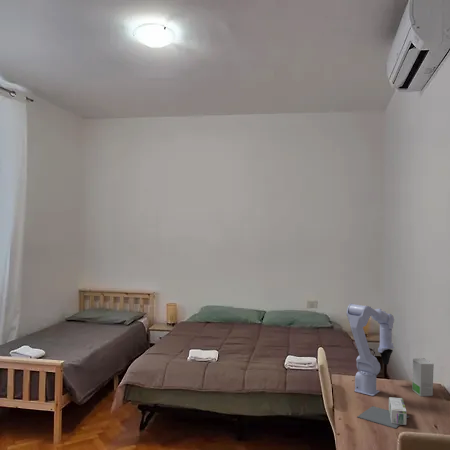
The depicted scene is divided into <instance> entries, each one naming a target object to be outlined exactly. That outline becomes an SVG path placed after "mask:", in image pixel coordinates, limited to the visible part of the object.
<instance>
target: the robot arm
mask: <svg viewBox="0 0 450 450" xmlns="http://www.w3.org/2000/svg"><path fill="white" fill-rule="evenodd" d="M345 314H346V316H347V320H348V322H349V325H350V329H351V333H352V336H353V337H352V338H353V339H354V342H355V346H356V348H357V349H356V350H357V351H358V354H359V355H358V356H357V357H356V359H355V360H356V368H357V370H358V371H357V372H356V373H355V376H354V378H355V379H354V392H356V393H359V394H364V395H367V396H371V397H374V396H376V395H377V394H378V393H380V392H381V391H380V390H378V389H377V376H378V375H379V373H380V372H381V364H380V362H379V360H378V359H377V357H376V356H374V355H373V354H372V353H371V350H370V345H369V343H368V339H367V336H366V333H365V330H364V327H366V326H367V324H368V322H369V320H370V318H371V319H372V320H373V321H376V322H377V324H379V346H378V347H377V353H379V355H380V358H381V360H382V364H384V365H389V363H390V359H391V356H392V353H393V352H394V351H393V349H395V346H394V343H393V342H392V341H393V339H392V337H393V333H392V332H393V330H392V329H393V328H394V323H395V318H394V315H392V314H391V313H387V312H386V311H385V310H382V309H381V308H380V307H379V308H375V309H374V308H373V307H372V306H369V305H363V304H362V305H361V304H356V303H355V304H354V303H349V304H348V306H347V309H346V312H345Z"/></svg>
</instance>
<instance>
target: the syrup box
mask: <svg viewBox="0 0 450 450" xmlns="http://www.w3.org/2000/svg"><path fill="white" fill-rule="evenodd" d="M388 410H389V414H390V418H391V423H393V424H401V425H403V426H407V419H406V415H407V409H406V405H405V401H404V398H402V397H391V396H390V397H388Z"/></svg>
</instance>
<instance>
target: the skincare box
mask: <svg viewBox="0 0 450 450" xmlns="http://www.w3.org/2000/svg"><path fill="white" fill-rule="evenodd" d="M434 364H435V363H433V362H431V360H428V359H426V358H424V357H423V358H413V359H412V378H411V380H412V381H411V382H412V383H411V390H412V391H413V392H414V393H415V394H417V395H418V396H419V397H433V395H434V369H435V367H434Z"/></svg>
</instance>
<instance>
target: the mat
mask: <svg viewBox="0 0 450 450" xmlns="http://www.w3.org/2000/svg"><path fill="white" fill-rule="evenodd" d="M356 418H358V419H361V420H363V421H368V422H372V423H376V424H378V425H381V426H385V427H388V428H391V429H397V428H398V427H400V425H401V424H393V423H391V418H390V414H389V409H386V408H382V407H381V408H380V407H377V406H374V405H372V406H370V407H369V408H367V409H366V410H365V411H363V412H362V413H360V414H359V415H357V417H356ZM407 418H408V419H409V418H410V415H407V414H406V420H408V419H407Z"/></svg>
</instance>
